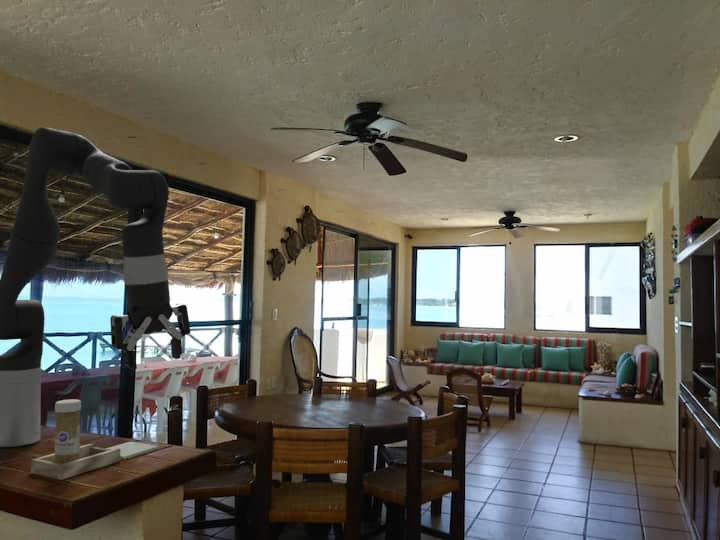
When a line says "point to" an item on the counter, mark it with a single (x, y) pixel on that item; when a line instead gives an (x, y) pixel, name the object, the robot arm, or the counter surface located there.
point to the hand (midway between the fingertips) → (154, 363)
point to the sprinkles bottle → (67, 430)
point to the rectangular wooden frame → (75, 462)
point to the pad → (133, 449)
